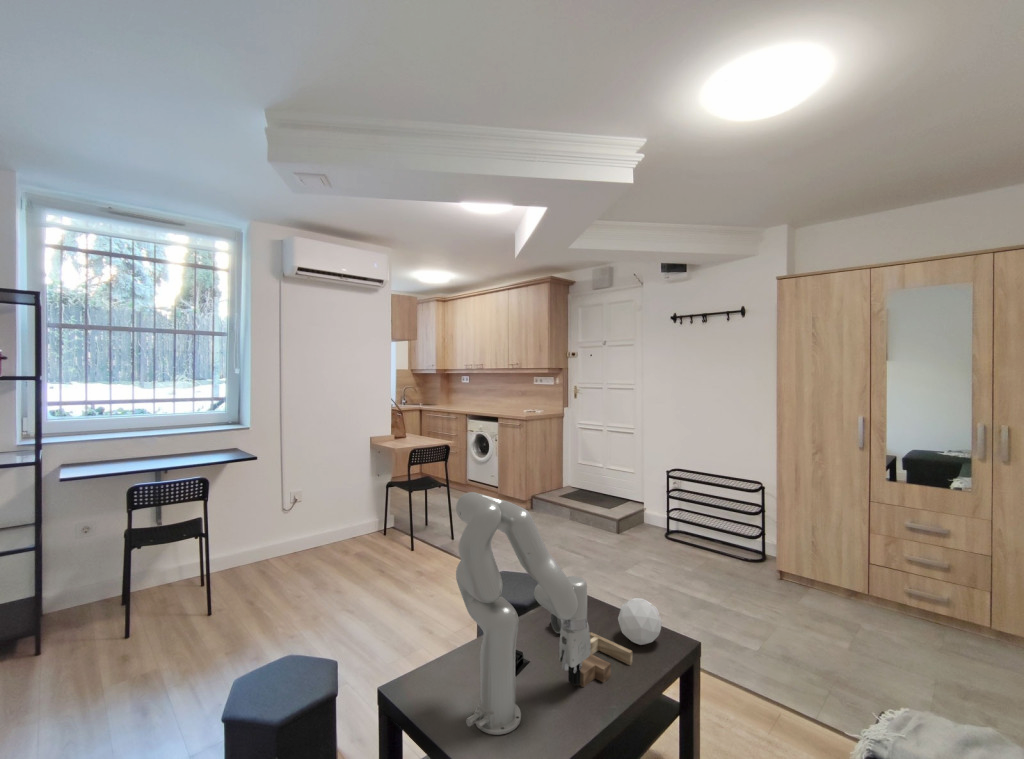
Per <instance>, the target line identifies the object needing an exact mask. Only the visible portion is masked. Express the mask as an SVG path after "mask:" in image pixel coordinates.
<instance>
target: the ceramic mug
mask: <svg viewBox="0 0 1024 759" xmlns="http://www.w3.org/2000/svg"><path fill="white" fill-rule="evenodd" d="M550 623H551V627H552V629H553V631H554V632H555V633H556V634H560V633H561V628H562V620H561V619H559V618H557V617H556V616H555V615H554V614H552V613H551V612H550Z"/></svg>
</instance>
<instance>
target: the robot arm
mask: <svg viewBox="0 0 1024 759" xmlns="http://www.w3.org/2000/svg"><path fill="white" fill-rule="evenodd" d="M455 505H456V506H455V510H456V511H455V512H456V515H457V516H458V518H459V519H460V521H462V522H463V523H465V525H466V526H465V527H464V529H463V531H462V534H461V536H460V539H459V542H458V553H459V554H458V555H459V558H460V561H459V563H458V564H457V567H456V571H455V578H456V583H457V585H458V588H459V591H460V595H461V598H462V600H463V602H464V605H465V609H466V611H467V613H468V614H469V616H470V618H471V619H472V620H473V621H474V622H475V624H477V626H478V627H479V628H480V629H481V630H482V632H483V638H482V642H481V645H480V649H479V651H480V652H479V665H480V666H479V673H480V674H479V684H480V686H479V703H478V704H477V705H476V708H475V710H474V712H473V713H474V714H473V715H470V716H469V717H467V718H466V719H465V723H466V725H467V727H468V728H471V726H474V724H475V726H476V728H478V729H479V730H480V731H482V733H483V732H484V733H486V734H489V735H492V736H493V735H494V736H495V735H498V736H499V735H505V734H508V733H510V732H512V731H514V730H515V729H516V728H518V726H519V725H520V723H521V721H522V711H521V709H520V706H518V704H517V703H516V677H515V650H516V647H517V646H516V644H517V636H518V631H519V624H520V623H519V621H520V620H519V616H518V613H517V611H516V609H515V608H514V606H513V605H512V604H511V603H510V602H509V601H508V600H507V599H505V598H504V597H503V596H502V595H501V594H502V591H503V580H502V579H503V578H502V576H501V572H500V570H499V568H498V564H497V561H496V559H495V556H494V552H493V550H492V549H493V547H492V540H493V537H494V535H495V533H496V532H497V530H499V531H500V532H502V533H504V534H505V536H506V538H508V539H507V540H508V541H509V543H510V545H511V547H512V550H513V551H514V553H515V556H516V557H517V560H518V562H519V564H520V566H521V567H522V568H523V569H524V570H525V571H526V573H527V574H528V575H529V576H530V577H531V578H532V579H533V580H534V581H535V582H536V583H537V584H536V586H535V588H534V590H533V592H534V598H535V600H536V601H537V604H539V605H540V606H541V607H542V608H544V609H546V611H548V612H549V613H550V614H551V613H552V614H554V615H555V616H556V617H557V618H559V619H561V620H562V628H561V633H559V634H560V635H559V643H558V644H559V645H558V656H559V657H558V658H559V662H560V663H561V667H560V669H561V670H563V671H568V678H567V679H568V683H570V684H572V685H574V687H577V686H579V685H578V684H580V670H581V668H582V661H584V660H585V659H586V658H588V657H589V656H590V654H591V641H590V633H591V632H590V625H589V623H588V583H587V581H586V580H585V579H584V578H583V577H580V576H577V575H570V576H569V575H568V576H567V574H566V573H565V572H564V571H563V569H562V567H561V566H560V565H559V564H558V562H557V561H556V559H555V558H554V557H553V556H552V554H551V552H550V551H549V550H548V548H547V547H546V544H545V541H544V539H543V538H542V535H541V534H540V531H539V530H538V527H537V525H536V522H535V520H534V519H533V517H532V515H531V513H530V512H529V511H528V510H527V509H526V508H524V507H522V506H520V505H517V504H515V503H513V502H512V501H508V500H504V499H500V498H495V497H492V496H489V495H486V494H483V493H478V492H475V491H471V492H470V491H469V492H466V493H464V494H462V495H461V496H460V497H459V498H458V499H457V501H456V504H455Z"/></svg>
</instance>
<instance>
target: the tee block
mask: <svg viewBox="0 0 1024 759" xmlns="http://www.w3.org/2000/svg"><path fill="white" fill-rule="evenodd" d="M611 677H612V663H610V662H608V661H606V660H604V659H602V658H600V657H598V656H596V655H594V654H590V656H589V657H588V658H586V659H585V660H584V661H582V668H581V670H580V684H578V685H577V686H581V687H582V688H585V687H586V686H587V685H589V684H590V683H591V682H593V681H595V679H596V680H598V681H600V682H601V683H605V682H606V681H608V680H609V679H610V678H611Z"/></svg>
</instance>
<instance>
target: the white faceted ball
mask: <svg viewBox="0 0 1024 759" xmlns="http://www.w3.org/2000/svg"><path fill="white" fill-rule="evenodd" d="M620 607H621V608H620V610H619V614H618V617H617V620H618V625H619V628H620V631H621V633H622V634H623V635H624V636H625V637H626V638H627V640H628V639H629V640H630V642H632V643H634V644H637V645H639V646H642V645H647V644H651V643H654V642H655V640H656V639H657V638H658V637H659V636H660V634H661V630H662V625H663V622H662V618H661V615H660V613H659V609H658V608H657V607H656V606H655V605H653V603H651V602H650V601H648V599H645V598H641V597H636V598H631V599H628V601H626V602H625V603H624V604H622V605H621V606H620Z"/></svg>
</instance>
